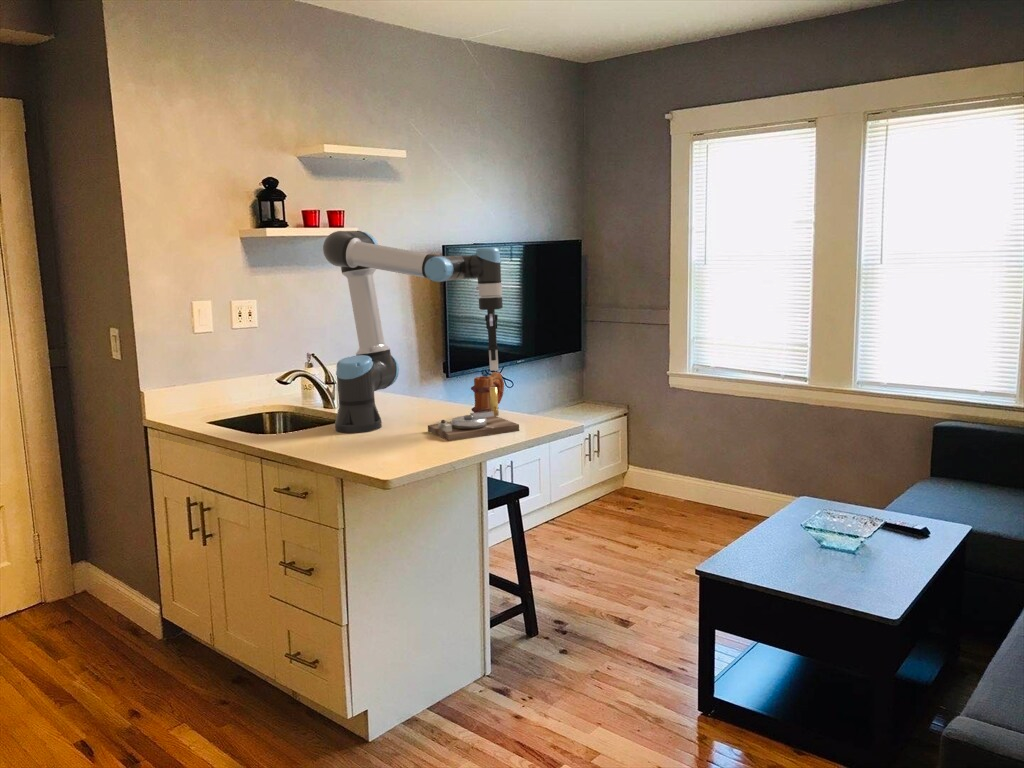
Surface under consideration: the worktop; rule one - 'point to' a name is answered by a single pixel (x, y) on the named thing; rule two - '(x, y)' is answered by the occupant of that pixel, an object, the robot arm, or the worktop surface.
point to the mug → (486, 391)
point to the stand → (493, 427)
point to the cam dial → (478, 415)
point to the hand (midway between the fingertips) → (494, 370)
